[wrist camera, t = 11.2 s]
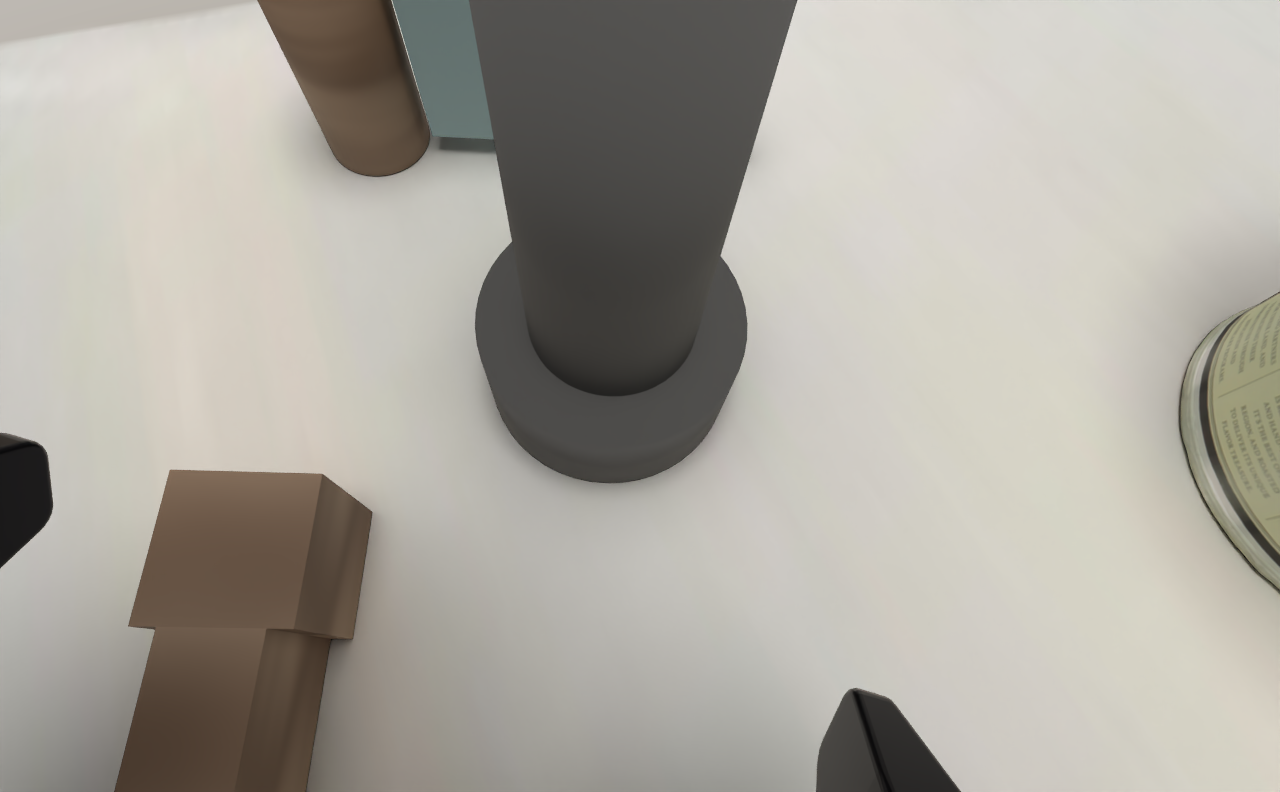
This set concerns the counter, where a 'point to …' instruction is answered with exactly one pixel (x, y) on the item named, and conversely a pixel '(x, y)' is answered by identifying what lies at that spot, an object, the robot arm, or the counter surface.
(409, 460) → the counter surface
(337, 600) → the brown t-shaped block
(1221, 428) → the coffee can
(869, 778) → the robot arm
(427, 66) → the door
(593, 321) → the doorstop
